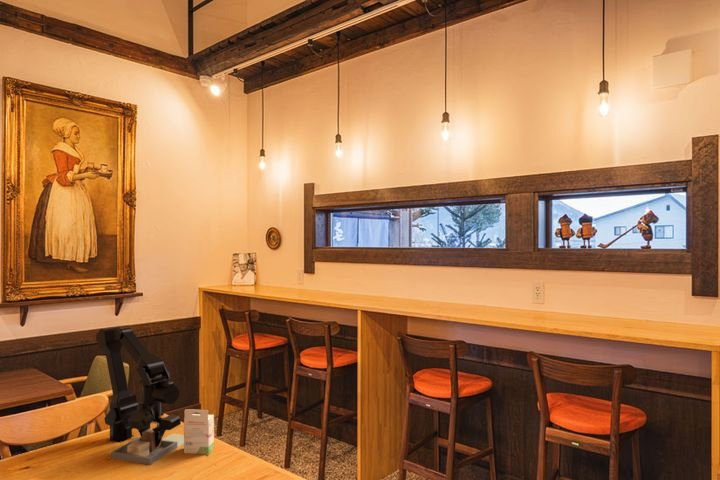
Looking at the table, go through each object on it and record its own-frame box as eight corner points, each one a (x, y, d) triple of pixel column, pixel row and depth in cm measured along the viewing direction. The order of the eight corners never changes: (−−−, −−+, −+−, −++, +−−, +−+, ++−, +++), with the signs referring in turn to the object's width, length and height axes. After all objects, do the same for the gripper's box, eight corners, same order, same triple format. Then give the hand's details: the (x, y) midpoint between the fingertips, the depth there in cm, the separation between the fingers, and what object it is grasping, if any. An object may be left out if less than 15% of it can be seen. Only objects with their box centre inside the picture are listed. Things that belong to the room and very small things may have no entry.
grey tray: (110, 460, 154) (110, 452, 154) (139, 443, 166) (139, 436, 166) (150, 466, 149) (150, 458, 149) (177, 449, 162) (177, 441, 162)
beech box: (127, 458, 153) (127, 446, 153) (137, 452, 158) (137, 440, 158) (139, 460, 152) (139, 447, 152) (149, 454, 156) (149, 442, 156)
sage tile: (155, 445, 165) (155, 443, 165) (172, 435, 174) (172, 433, 174) (178, 448, 162) (178, 447, 162) (194, 438, 171) (194, 436, 171)
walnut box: (142, 450, 159) (142, 431, 159) (150, 445, 163) (150, 427, 163) (152, 452, 158) (152, 433, 158) (160, 447, 162) (160, 428, 162)
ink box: (214, 449, 162) (215, 405, 162) (208, 456, 157) (208, 410, 157) (189, 448, 163) (190, 404, 163) (182, 454, 158) (183, 409, 158)
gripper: (109, 403, 156) (109, 452, 156) (159, 409, 150) (158, 460, 150) (135, 393, 166) (134, 438, 166) (181, 398, 161) (181, 445, 161)
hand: (151, 445), depth 161 cm, fingers closed on walnut box, 4 cm apart
